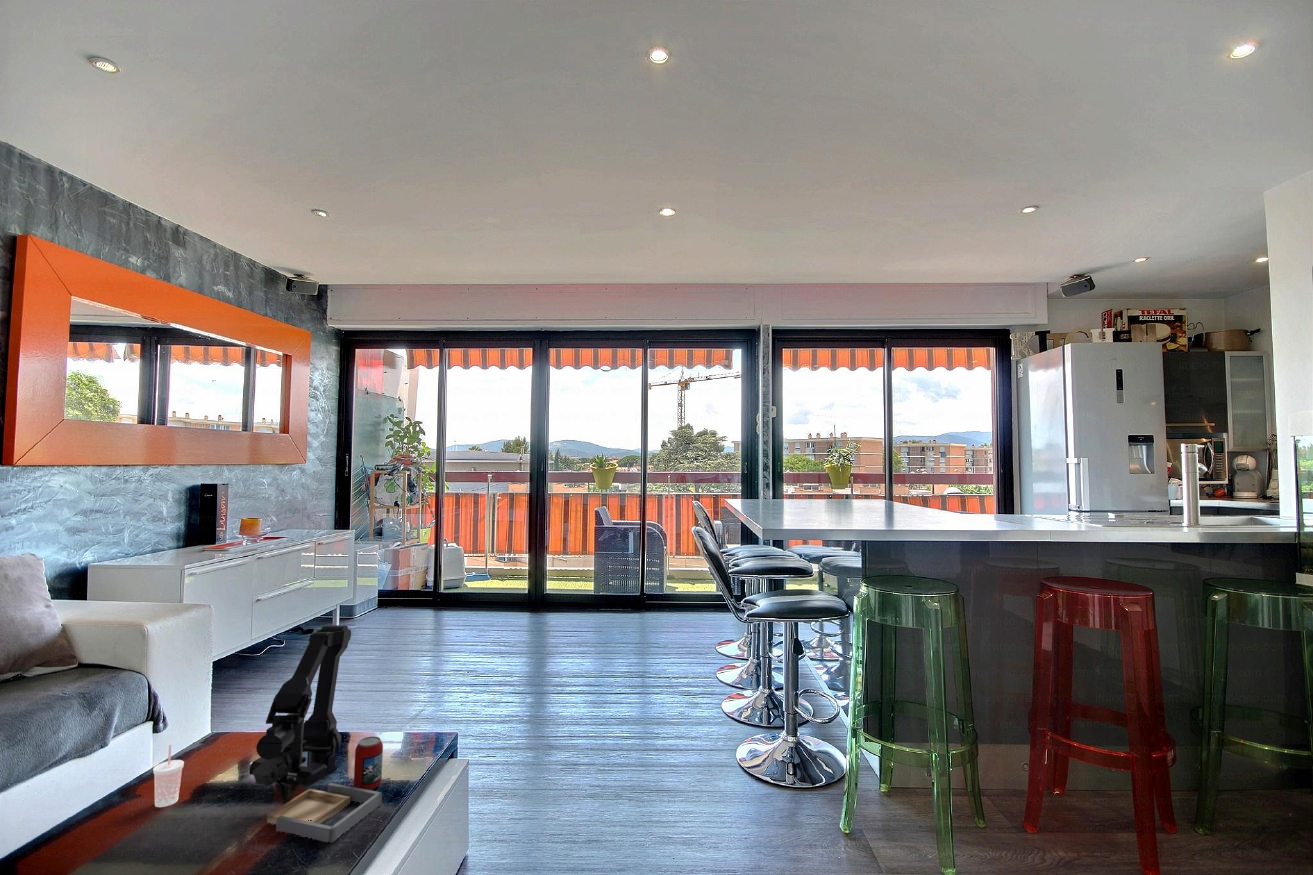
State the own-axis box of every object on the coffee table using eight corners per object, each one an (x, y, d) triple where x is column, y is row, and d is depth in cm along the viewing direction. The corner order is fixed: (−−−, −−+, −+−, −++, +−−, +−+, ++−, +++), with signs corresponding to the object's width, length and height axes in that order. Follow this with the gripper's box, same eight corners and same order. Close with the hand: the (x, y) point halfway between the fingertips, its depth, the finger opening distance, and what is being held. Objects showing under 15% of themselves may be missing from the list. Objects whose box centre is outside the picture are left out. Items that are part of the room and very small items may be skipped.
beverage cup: (186, 799, 155) (190, 743, 156) (158, 811, 150) (161, 753, 151) (174, 793, 158) (177, 737, 159) (146, 804, 153) (149, 747, 153)
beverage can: (370, 794, 160) (372, 747, 160) (347, 791, 161) (349, 744, 162) (386, 781, 167) (388, 736, 167) (364, 778, 168) (366, 733, 168)
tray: (266, 823, 147) (267, 814, 147) (309, 796, 159) (309, 788, 159) (309, 833, 143) (310, 824, 143) (349, 805, 156) (350, 796, 156)
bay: (276, 831, 143) (276, 817, 144) (330, 794, 160) (330, 782, 160) (331, 843, 140) (332, 829, 140) (381, 804, 156) (381, 792, 156)
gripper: (231, 748, 148) (226, 814, 148) (293, 760, 143) (289, 829, 143) (270, 729, 159) (267, 791, 158) (330, 740, 154) (326, 804, 153)
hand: (286, 803), depth 153 cm, fingers closed
